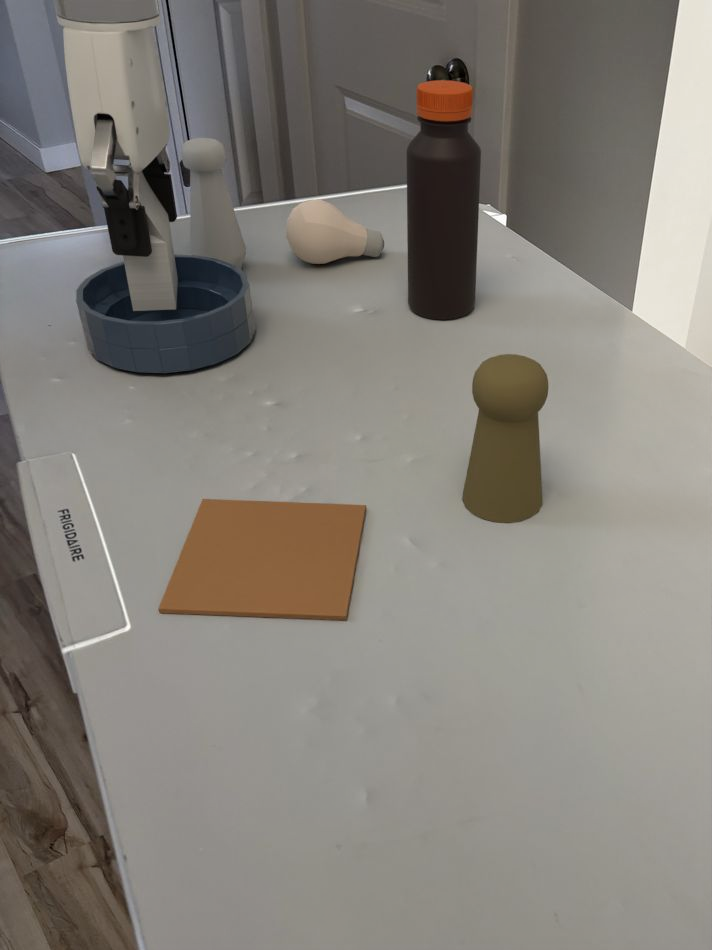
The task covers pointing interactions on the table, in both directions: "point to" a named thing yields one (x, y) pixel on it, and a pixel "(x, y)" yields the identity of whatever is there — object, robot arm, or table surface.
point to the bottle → (443, 203)
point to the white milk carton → (153, 259)
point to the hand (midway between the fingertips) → (146, 235)
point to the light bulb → (328, 234)
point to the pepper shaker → (506, 440)
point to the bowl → (168, 318)
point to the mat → (267, 560)
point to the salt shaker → (211, 204)
